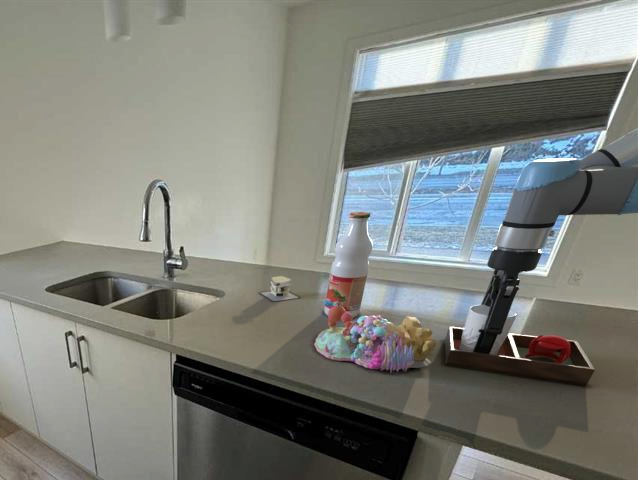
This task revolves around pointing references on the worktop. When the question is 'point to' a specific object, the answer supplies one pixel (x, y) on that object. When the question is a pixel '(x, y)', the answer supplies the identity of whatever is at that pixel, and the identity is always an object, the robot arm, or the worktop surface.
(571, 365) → the sorting tray
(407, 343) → the candy landscape model
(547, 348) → the red curved piece
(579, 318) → the worktop surface
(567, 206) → the robot arm
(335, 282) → the fruit juice
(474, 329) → the white cup
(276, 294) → the stacked layers on plate
